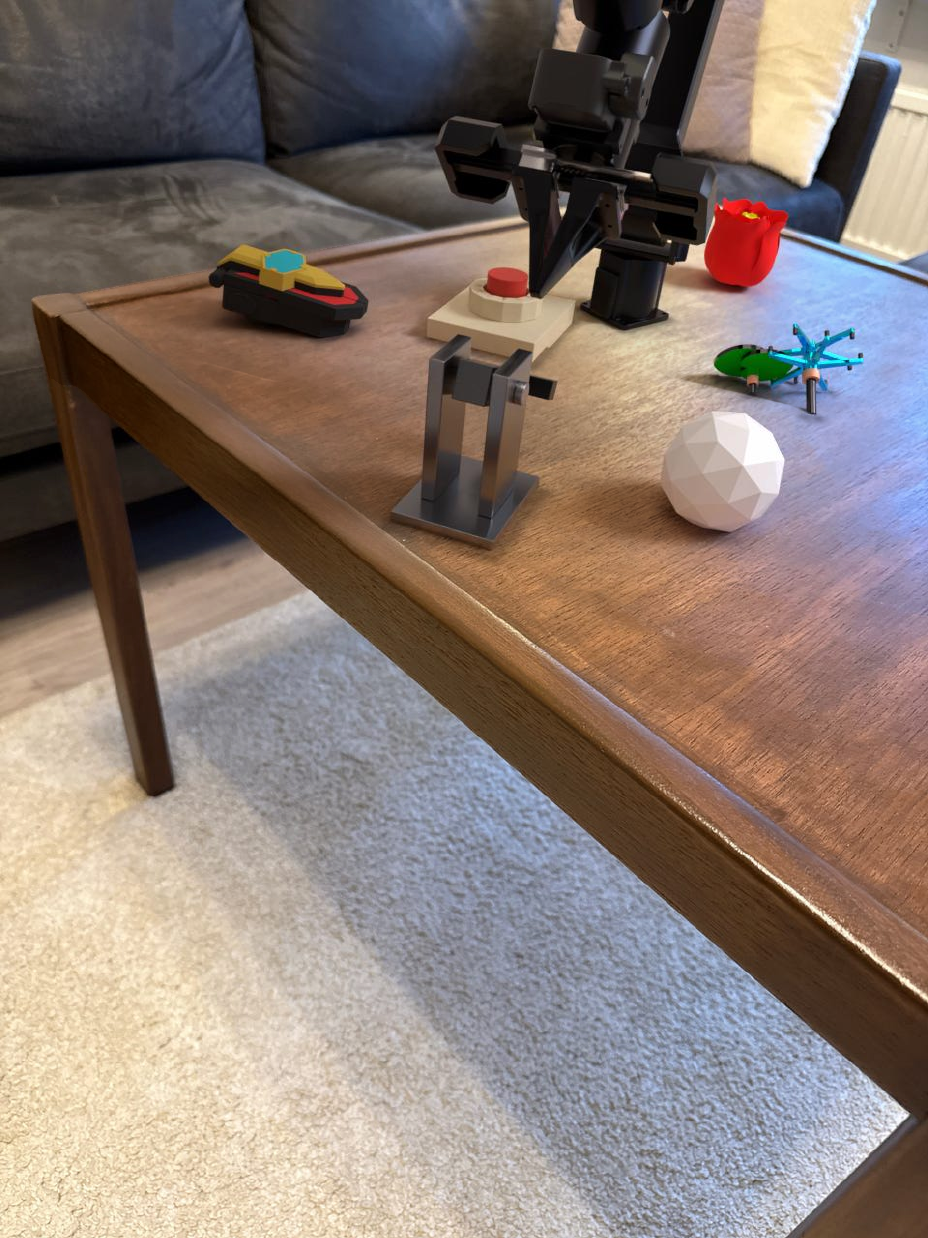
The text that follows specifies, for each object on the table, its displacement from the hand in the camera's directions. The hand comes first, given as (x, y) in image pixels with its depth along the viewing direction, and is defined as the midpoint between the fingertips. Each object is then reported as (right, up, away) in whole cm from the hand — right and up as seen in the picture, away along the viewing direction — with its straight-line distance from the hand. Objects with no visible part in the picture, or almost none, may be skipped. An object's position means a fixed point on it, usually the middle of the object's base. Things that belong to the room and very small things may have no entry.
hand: (534, 295), depth 63 cm
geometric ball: (+12, -15, +2) cm, 19 cm away
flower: (+25, +15, +40) cm, 50 cm away
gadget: (-20, +5, +22) cm, 30 cm away
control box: (-1, +5, +24) cm, 25 cm away
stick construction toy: (+22, -3, +18) cm, 29 cm away
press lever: (-3, -7, -1) cm, 8 cm away
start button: (-1, +8, +22) cm, 23 cm away
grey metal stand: (-5, -14, 0) cm, 15 cm away
